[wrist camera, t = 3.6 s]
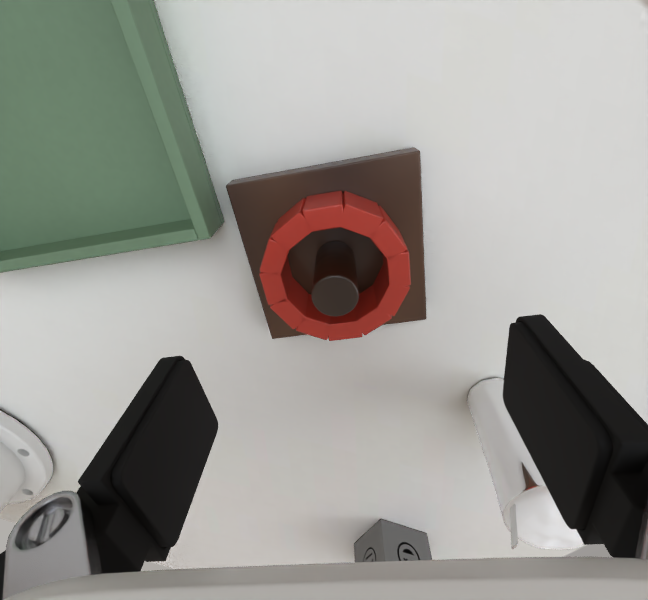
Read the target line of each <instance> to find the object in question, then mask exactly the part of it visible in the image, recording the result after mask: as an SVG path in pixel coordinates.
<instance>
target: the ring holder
mask: <svg viewBox="0 0 648 600" xmlns="http://www.w3.org/2000/svg"><path fill="white" fill-rule="evenodd" d="M226 188H227V191H228V195H229V198H230V201H231V205H232V208H233V211H234V214H235V218H236V221H237V224H238V228H239V231H240V234H241V237H242V241H243V244H244V247H245V251H246V254H247V257H248V260H249V264H250V267H251V270H252V274H253V277H254V280H255V283H256V287H257V290H258V293H259V296H260V300H261V303H262V306H263V310H264V313H265V316H266V319H267V323H268V326H269V329H270V333H271V336H272V338H273V339H275V338H283V337H291V336H299V335H307V334H305V333H302V332H298V331H296V328H295V329H292V328H291V327H290V326H289V325H288V324H287V323H286V322H285V321H284V320H283V319H282V318H280V317H279V316H278V315H277V314H276V313H275V312H274V311H273V310H272V309H271V308H270V305H268V302H267V299H266V295H265V292H264V289H263V285H262V282H261V278H260V275H259V274H260V272H261V271H260V266H261V263H262V260H263V256H264V253H265V250H266V246H267V243H268V240H269V238H270V235H271V233H272V231H273V229H274V227H275V224H276V223H277V222H278V219H279V218H280V217H282V216H283V215H284V214H285V213H286V212H287V211H289V210H290V209H291V208H292V207H293V206H294V205H295V204H297V203H298V202H299V201H300V200H301V199H302V198H305V199H306V197H307V196H311V195H317V194H323V193H329V192H335V191H342V195H343V193H344V191H347V192H350V193H353V194H355V195H358V196H360V197H363V198H366V199H368V200H371V201H373V202H376V203H377V204H378V206H381V207H382V208H383V210H384V211H385V212H386V214H387V215H388V216H389V218H390V219H391V220H392V222H393V223H394V224H395V225H396V227H397V228H398V229H399V231H400V233H401V235H402V238H403V240H404V242H405V244H406V246H407V249H408V252H409V261H410V277H411V285H409V286H410V289H409V291H408V293H407V295H406V296H405V298H404V300H403V302H402V304H401V305H400V307H399V309H398V311H397V313H396V314H395V316H392V315H391V316H392V319H390V320H389V321H387V322H386V323H384V324H382V325H385V324H393V323H401V322H409V321H417V320H425V319H426V296H425V270H424V244H423V218H422V192H421V166H420V151H419V150H417V149H416V148H408V149H403V150H397V151H392V152H386V153H381V154H375V155H370V156H364V157H358V158H353V159H347V160H342V161H336V162H331V163H325V164H320V165H314V166H309V167H303V168H298V169H292V170H287V171H281V172H275V173H270V174H264V175H259V176H253V177H248V178H242V179H237V180H232V181H231V182H230V183H229V184H227V185H226ZM287 257H288V261H289V265H290V269H291V273H292V277H293V278H294V279H295V280H296V281H297V282H298V283H299V284H300V285H301V286H302V287H303V288H304V289H305V290H306V291H307V292H308V294H311V297H312V302H313V304H314V306H315V307H316V308H317V309H318V310H319V311H320V312H321V313H323V314H325V315H328V316H342V315H345V314H347V313H349V312H350V311H352V310H353V309H354V307H355V306H356V305H357V302H358V299H359V294H360V293H362V292H363V291H364V290H366V289H367V288H369V287H370V286H372V285H373V283H374V281H375V279H376V277H377V275H378V273H379V271H380V269H381V267H382V265H383V257H382V253H381V251H380V250H379V249H378V248H377V246H376V245H375V244H374V243H373V241H372V240H371V239H370V238H369V237H366V236H364V235H361V234H358V233H355V232H353V231H350V230H347V229H344V228H342V227H339V228H332V229H326V230H320V231H314V232H311V233H310V234H309V235H307V236H306V237H305V238H304V239H302V240H301V241H300V242H299V243H297V244H296V245H295V246H294V247H292V248H291V249H290V250H289V253H288V256H287Z"/></svg>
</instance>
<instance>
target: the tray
mask: <svg viewBox="0 0 648 600" xmlns="http://www.w3.org/2000/svg"><path fill="white" fill-rule="evenodd" d="M223 223H224V219H223V216H222V213H221V210H220V206H219V203H218V200H217V197H216V194H215V191H214V188H213V185H212V182H211V178H210V175H209V172H208V169H207V166H206V163H205V160H204V157H203V154H202V151H201V147H200V144H199V141H198V138H197V135H196V132H195V129H194V126H193V123H192V120H191V116H190V113H189V110H188V107H187V104H186V101H185V98H184V95H183V92H182V88H181V85H180V82H179V79H178V76H177V73H176V70H175V67H174V64H173V61H172V57H171V54H170V51H169V48H168V45H167V42H166V39H165V36H164V33H163V30H162V26H161V23H160V20H159V17H158V14H157V11H156V8H155V5H154V2H153V0H0V272H7V271H13V270H19V269H25V268H31V267H37V266H43V265H50V264H56V263H62V262H68V261H74V260H80V259H86V258H93V257H99V256H105V255H111V254H117V253H123V252H129V251H136V250H142V249H148V248H154V247H160V246H166V245H172V244H179V243H185V242H191V241H197V240H203V239H210V238H211V237H212V236H213V234H214V233H215V232H216V231H217V230H218V229H219V228H220V226H221V225H222V224H223Z"/></svg>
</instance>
